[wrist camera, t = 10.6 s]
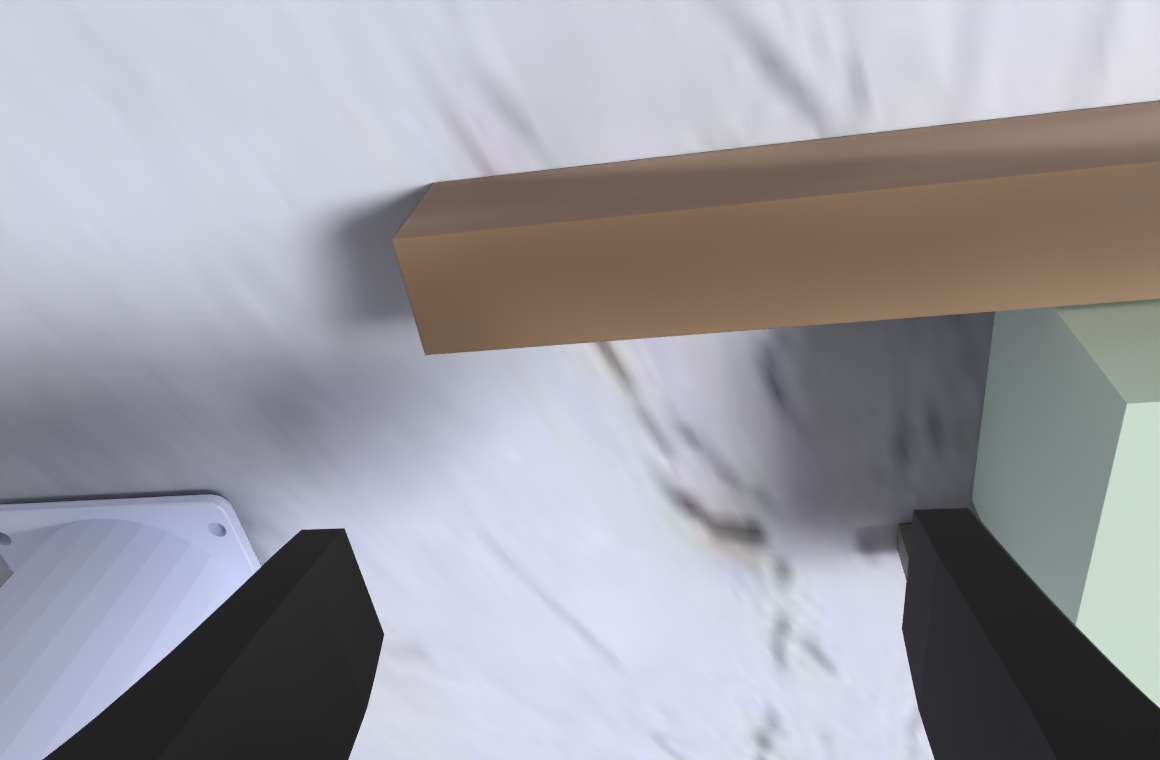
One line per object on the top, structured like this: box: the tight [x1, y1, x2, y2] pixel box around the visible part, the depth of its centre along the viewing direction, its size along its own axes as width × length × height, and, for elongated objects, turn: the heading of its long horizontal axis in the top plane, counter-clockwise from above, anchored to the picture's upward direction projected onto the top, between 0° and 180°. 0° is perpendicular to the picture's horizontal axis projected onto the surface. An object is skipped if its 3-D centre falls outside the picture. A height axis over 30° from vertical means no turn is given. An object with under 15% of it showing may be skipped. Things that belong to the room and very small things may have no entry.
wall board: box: [392, 101, 1160, 580], centre depth 18 cm, size 11×18×3 cm, turn 99°
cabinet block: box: [972, 299, 1160, 703], centre depth 17 cm, size 8×4×6 cm, turn 9°
